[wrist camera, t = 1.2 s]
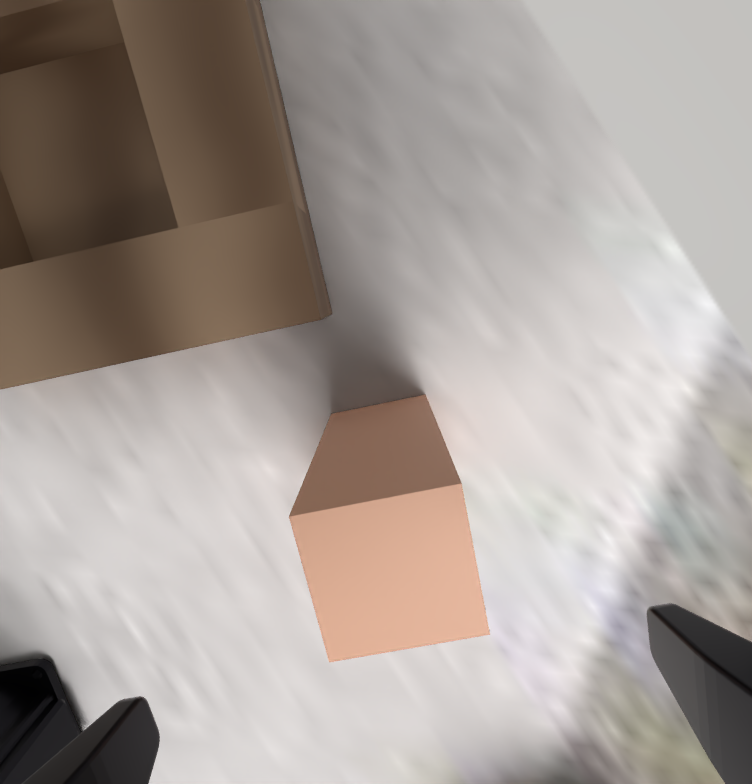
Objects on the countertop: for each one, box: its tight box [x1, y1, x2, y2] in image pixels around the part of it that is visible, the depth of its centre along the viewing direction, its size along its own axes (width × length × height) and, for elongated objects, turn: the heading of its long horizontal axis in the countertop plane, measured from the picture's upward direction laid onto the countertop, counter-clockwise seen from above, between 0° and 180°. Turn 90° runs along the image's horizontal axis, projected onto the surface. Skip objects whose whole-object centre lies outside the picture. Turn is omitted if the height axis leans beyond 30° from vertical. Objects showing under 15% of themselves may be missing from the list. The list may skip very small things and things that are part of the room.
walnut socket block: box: [0, 0, 332, 389], centre depth 16 cm, size 14×14×4 cm
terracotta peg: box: [289, 395, 490, 662], centre depth 15 cm, size 4×4×9 cm
